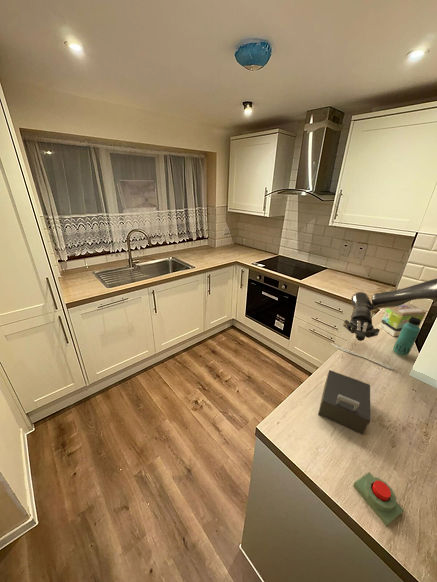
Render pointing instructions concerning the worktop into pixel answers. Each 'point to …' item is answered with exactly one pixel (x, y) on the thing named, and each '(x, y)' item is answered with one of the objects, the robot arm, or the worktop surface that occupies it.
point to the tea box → (400, 318)
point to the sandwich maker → (341, 417)
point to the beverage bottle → (407, 337)
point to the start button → (381, 490)
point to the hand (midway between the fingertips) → (360, 338)
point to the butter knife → (363, 356)
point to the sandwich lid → (347, 396)
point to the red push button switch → (382, 508)
